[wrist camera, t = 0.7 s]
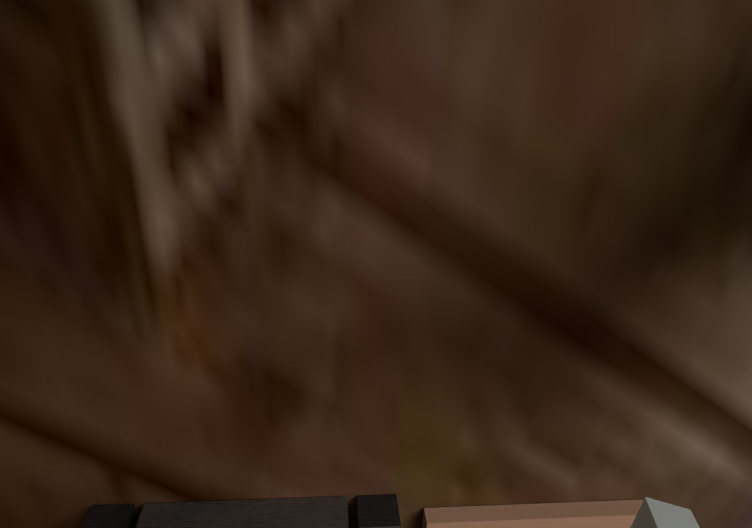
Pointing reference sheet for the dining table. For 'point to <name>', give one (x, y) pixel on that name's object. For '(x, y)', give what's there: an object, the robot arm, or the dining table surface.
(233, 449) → the dining table surface
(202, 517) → the dark grey square frame
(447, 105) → the dining table surface
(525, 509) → the terracotta tile
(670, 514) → the robot arm
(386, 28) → the dining table surface
